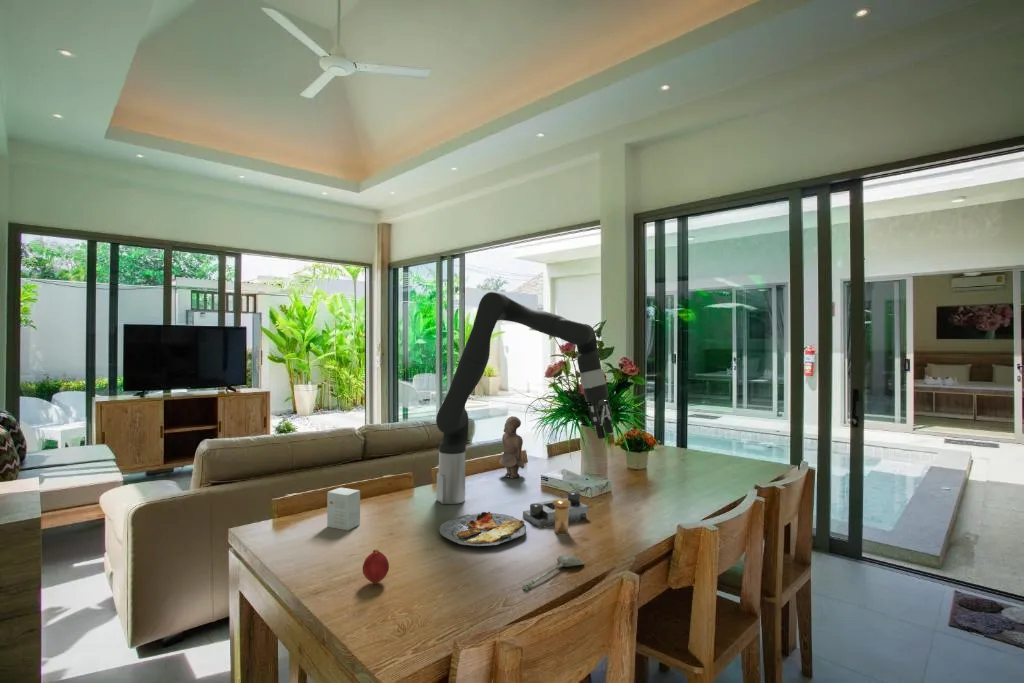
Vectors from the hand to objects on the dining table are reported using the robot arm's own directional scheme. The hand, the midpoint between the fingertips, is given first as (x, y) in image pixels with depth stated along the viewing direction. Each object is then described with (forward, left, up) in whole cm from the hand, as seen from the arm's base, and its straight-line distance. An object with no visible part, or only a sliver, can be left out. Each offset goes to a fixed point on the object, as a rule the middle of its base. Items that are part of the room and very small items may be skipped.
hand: (606, 435), depth 161 cm
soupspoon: (-35, -24, -27) cm, 50 cm away
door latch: (-13, +9, -27) cm, 31 cm away
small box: (-74, +31, -27) cm, 84 cm away
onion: (-74, -10, -27) cm, 79 cm away
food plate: (-39, +7, -27) cm, 48 cm away
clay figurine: (-2, +59, -27) cm, 65 cm away
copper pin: (-18, -2, -27) cm, 32 cm away
